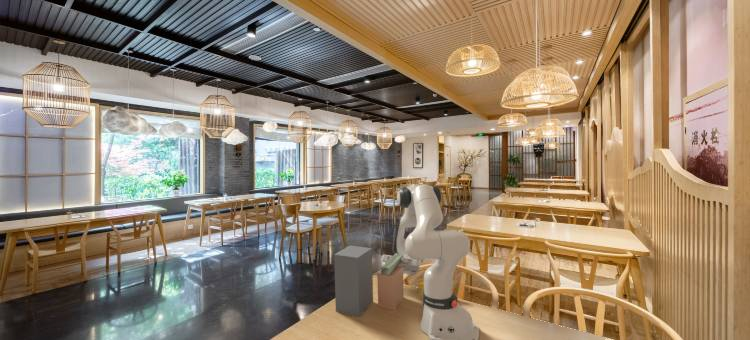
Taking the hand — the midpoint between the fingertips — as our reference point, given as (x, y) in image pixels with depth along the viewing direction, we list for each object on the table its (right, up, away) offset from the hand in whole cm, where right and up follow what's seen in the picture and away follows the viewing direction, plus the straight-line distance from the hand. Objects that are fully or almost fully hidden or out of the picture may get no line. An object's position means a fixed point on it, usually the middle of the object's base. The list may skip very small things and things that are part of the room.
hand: (396, 258), depth 140 cm
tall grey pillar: (-20, -19, -10) cm, 29 cm away
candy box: (+19, -19, -5) cm, 27 cm away
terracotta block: (-3, -19, -6) cm, 20 cm away
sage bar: (-2, -3, -5) cm, 6 cm away
